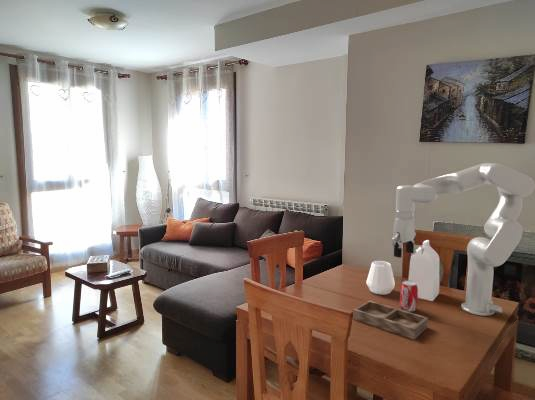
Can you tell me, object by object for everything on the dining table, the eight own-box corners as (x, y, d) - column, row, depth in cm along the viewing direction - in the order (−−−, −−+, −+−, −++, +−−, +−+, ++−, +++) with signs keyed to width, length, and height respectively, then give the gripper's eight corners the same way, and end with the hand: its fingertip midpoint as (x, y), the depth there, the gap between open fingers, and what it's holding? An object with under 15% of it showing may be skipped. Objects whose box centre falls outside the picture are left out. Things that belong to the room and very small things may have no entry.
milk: (432, 301, 173) (435, 245, 170) (406, 295, 180) (409, 241, 177) (439, 293, 183) (442, 240, 179) (414, 288, 189) (417, 237, 186)
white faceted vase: (390, 298, 176) (392, 269, 175) (362, 292, 183) (363, 264, 182) (397, 289, 188) (398, 262, 186) (370, 284, 195) (371, 258, 193)
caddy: (427, 327, 147) (428, 317, 147) (414, 339, 138) (414, 329, 137) (368, 309, 164) (369, 300, 164) (353, 318, 155) (353, 309, 154)
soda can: (418, 313, 160) (419, 286, 158) (400, 312, 161) (402, 284, 160) (415, 306, 167) (416, 280, 165) (398, 305, 168) (399, 279, 167)
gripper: (407, 211, 167) (406, 249, 170) (385, 216, 156) (384, 256, 158) (423, 213, 162) (422, 252, 164) (402, 218, 151) (401, 260, 153)
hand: (403, 254), depth 161 cm, fingers open, 9 cm apart
